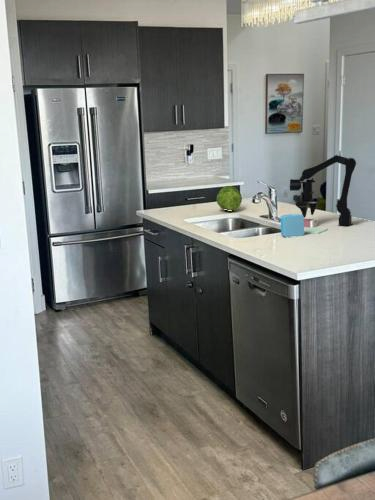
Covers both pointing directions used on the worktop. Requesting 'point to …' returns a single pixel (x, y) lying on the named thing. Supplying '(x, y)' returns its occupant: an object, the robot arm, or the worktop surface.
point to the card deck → (310, 223)
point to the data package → (292, 225)
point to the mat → (314, 230)
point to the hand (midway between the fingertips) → (308, 216)
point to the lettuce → (229, 198)
